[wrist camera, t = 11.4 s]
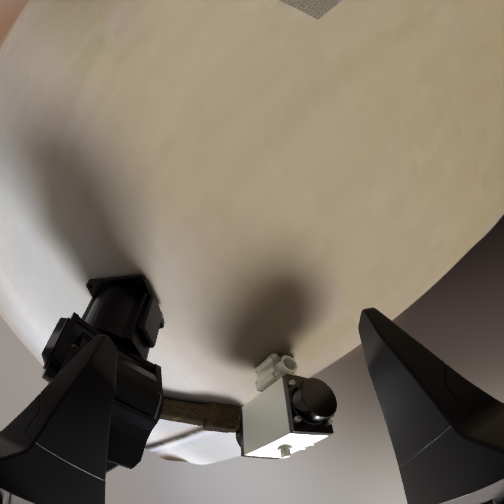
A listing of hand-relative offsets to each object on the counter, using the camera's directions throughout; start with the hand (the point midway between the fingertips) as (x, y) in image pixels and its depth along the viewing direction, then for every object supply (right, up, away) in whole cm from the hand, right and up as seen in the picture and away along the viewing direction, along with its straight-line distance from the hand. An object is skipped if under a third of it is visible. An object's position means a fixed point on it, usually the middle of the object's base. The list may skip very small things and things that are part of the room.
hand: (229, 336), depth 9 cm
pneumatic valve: (+4, -10, +22) cm, 25 cm away
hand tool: (-9, -19, +27) cm, 34 cm away
